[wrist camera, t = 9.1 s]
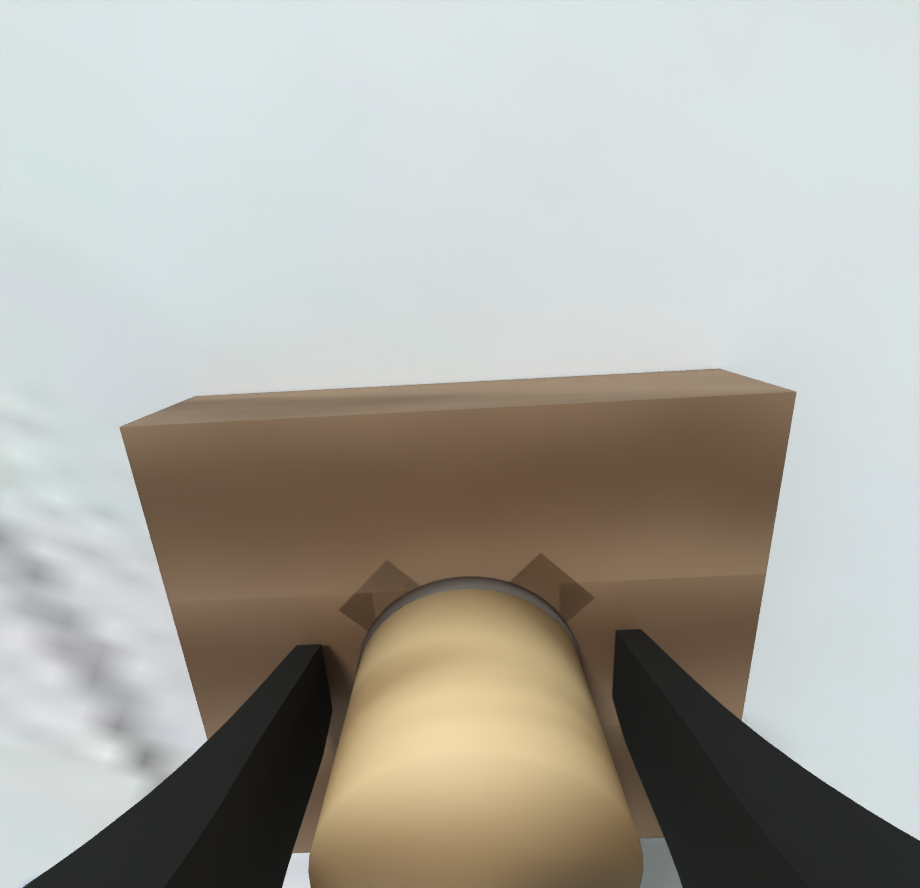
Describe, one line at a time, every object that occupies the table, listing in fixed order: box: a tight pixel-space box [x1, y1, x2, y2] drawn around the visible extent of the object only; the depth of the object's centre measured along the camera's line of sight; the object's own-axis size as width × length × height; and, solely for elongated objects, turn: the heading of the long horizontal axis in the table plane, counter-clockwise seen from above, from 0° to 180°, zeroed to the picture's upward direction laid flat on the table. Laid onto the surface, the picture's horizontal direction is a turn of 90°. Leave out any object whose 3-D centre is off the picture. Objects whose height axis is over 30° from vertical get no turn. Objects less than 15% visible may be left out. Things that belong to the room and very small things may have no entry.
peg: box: [308, 576, 643, 888], centre depth 11 cm, size 6×6×7 cm
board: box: [120, 369, 796, 853], centre depth 13 cm, size 13×14×3 cm
